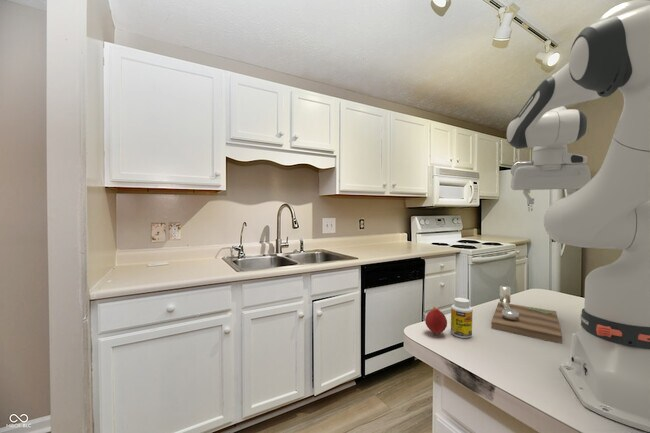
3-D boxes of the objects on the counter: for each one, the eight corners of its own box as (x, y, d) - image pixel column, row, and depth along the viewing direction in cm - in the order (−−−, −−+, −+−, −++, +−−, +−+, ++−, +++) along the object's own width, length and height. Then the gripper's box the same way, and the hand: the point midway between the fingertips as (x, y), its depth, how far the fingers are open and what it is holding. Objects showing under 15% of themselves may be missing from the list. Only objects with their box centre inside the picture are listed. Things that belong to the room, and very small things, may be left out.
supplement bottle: (453, 338, 80) (453, 302, 79) (448, 329, 85) (449, 296, 85) (474, 339, 79) (475, 303, 78) (468, 331, 84) (469, 297, 84)
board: (561, 343, 76) (561, 335, 76) (491, 328, 86) (491, 321, 86) (555, 317, 95) (556, 310, 95) (498, 307, 105) (498, 301, 105)
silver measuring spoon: (520, 320, 85) (520, 300, 85) (502, 318, 87) (503, 298, 87) (511, 304, 100) (511, 286, 100) (497, 302, 102) (497, 285, 102)
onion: (443, 330, 85) (443, 303, 85) (449, 339, 79) (450, 310, 79) (423, 329, 85) (423, 303, 85) (428, 338, 80) (428, 310, 79)
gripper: (513, 160, 91) (512, 204, 91) (594, 156, 84) (593, 203, 84) (508, 163, 97) (507, 204, 97) (583, 159, 90) (582, 203, 90)
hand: (548, 203), depth 91 cm, fingers open, 8 cm apart
